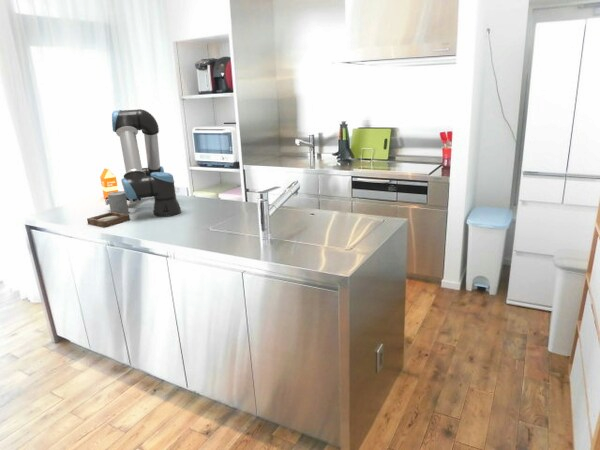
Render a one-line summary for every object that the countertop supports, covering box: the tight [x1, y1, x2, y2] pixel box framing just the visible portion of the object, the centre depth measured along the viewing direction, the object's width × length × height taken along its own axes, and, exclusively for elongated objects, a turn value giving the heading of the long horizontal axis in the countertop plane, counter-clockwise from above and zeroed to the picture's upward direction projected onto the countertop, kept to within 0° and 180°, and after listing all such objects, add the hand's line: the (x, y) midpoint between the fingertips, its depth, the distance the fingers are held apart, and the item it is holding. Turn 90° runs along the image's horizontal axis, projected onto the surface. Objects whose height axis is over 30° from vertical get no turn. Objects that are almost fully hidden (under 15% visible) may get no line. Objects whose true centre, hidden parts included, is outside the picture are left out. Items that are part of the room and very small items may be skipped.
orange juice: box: [99, 167, 119, 200], centre depth 277 cm, size 8×9×20 cm
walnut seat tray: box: [86, 211, 131, 229], centre depth 224 cm, size 15×15×3 cm
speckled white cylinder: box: [107, 190, 130, 215], centre depth 237 cm, size 10×10×12 cm
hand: (118, 202), depth 238 cm, fingers open, 13 cm apart
